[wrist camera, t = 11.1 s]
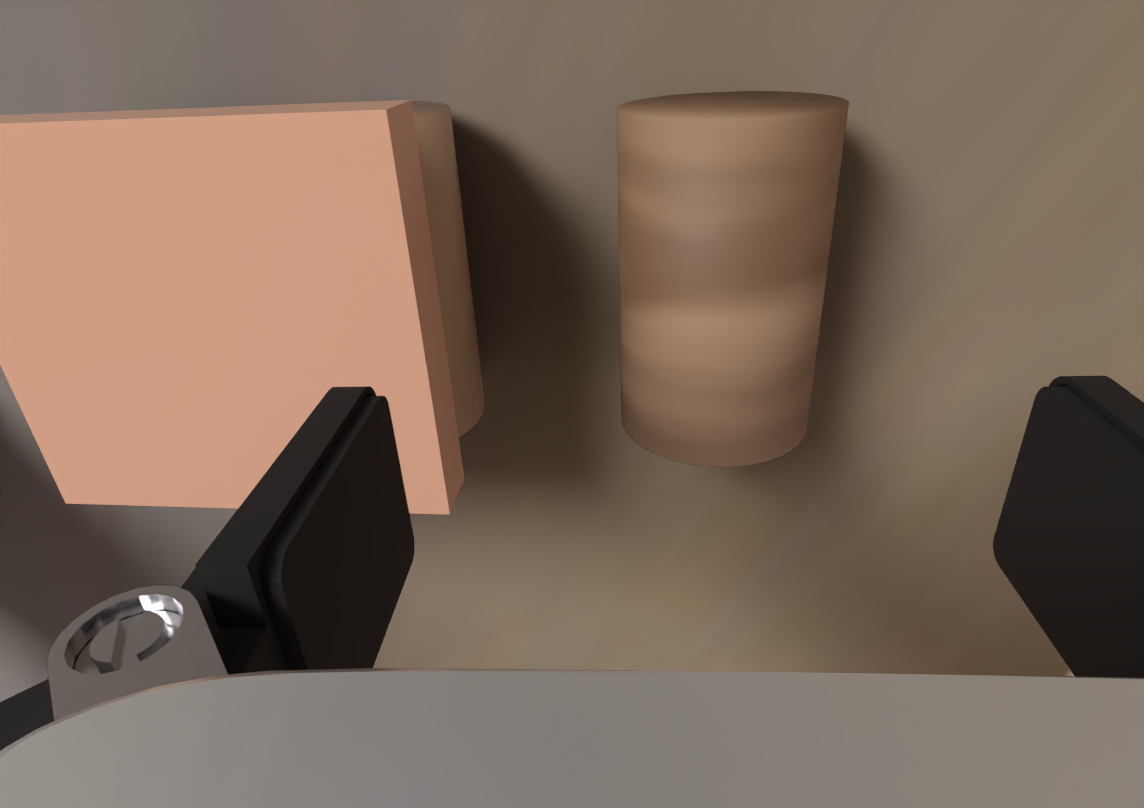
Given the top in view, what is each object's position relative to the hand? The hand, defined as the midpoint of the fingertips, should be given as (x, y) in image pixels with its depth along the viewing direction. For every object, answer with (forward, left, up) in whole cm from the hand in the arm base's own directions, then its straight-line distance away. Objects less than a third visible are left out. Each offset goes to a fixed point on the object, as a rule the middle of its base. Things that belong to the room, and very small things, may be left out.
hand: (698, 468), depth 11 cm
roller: (+1, 0, -11) cm, 11 cm away
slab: (-10, 0, -11) cm, 15 cm away
